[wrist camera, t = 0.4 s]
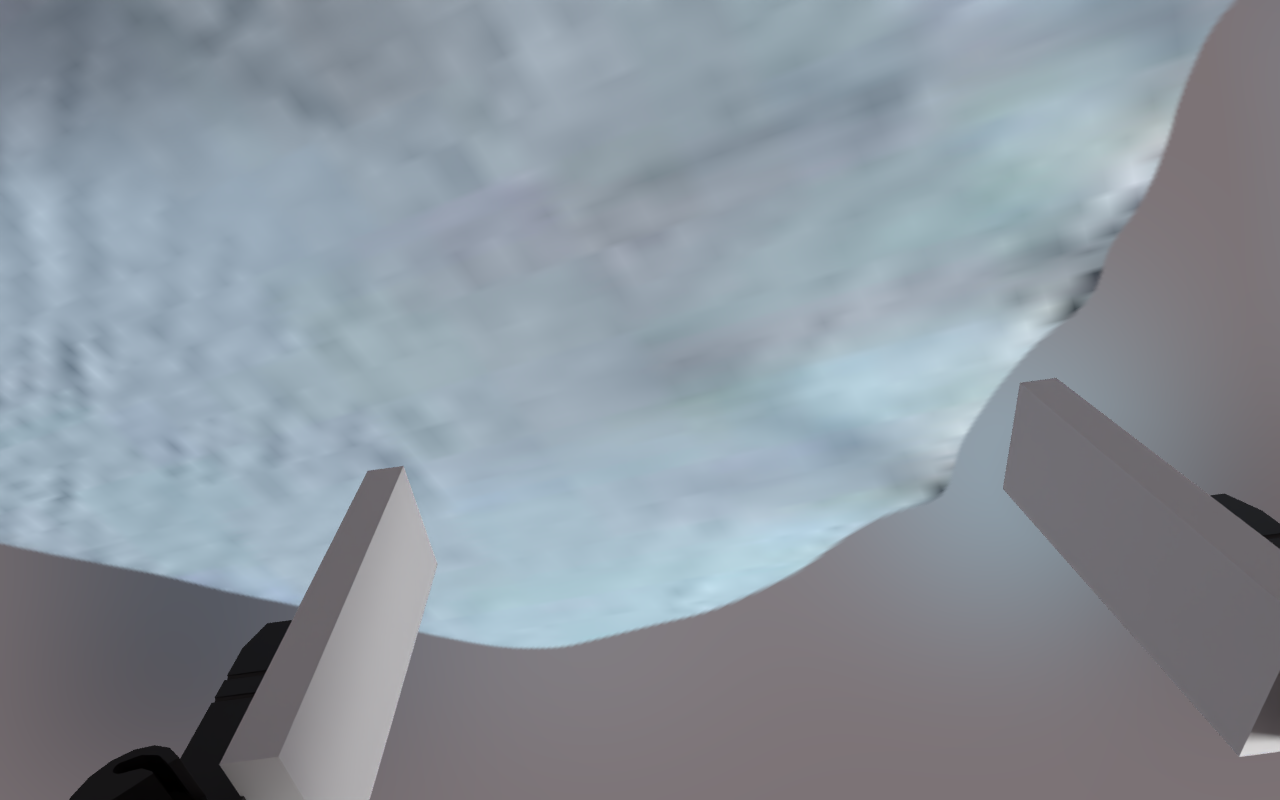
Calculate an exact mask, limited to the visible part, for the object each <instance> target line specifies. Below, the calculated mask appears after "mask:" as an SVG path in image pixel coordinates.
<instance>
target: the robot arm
mask: <svg viewBox="0 0 1280 800" xmlns="http://www.w3.org/2000/svg"><path fill="white" fill-rule="evenodd" d="M1003 489H1004V490H1005V492H1006V493H1007V494H1008V495H1009V496H1010V497H1011V498H1012V499H1013V501H1014V502H1015V503H1016V504H1017V505H1018V506H1019V508H1020V509H1021V510H1022V511H1023V512H1024V513H1025V514H1026V515H1027V516H1028V518H1029V519H1030V520H1031V521H1032V522H1033V523H1034V525H1035V526H1036V527H1037V528H1038V529H1039V530H1040V531H1041V532H1042V534H1043V535H1044V536H1045V537H1046V538H1047V539H1048V540H1049V542H1050V543H1051V544H1052V545H1053V546H1054V547H1055V548H1056V549H1057V551H1058V552H1059V553H1060V554H1061V555H1062V556H1063V557H1064V559H1066V561H1067V562H1068V563H1069V564H1070V565H1071V567H1072V568H1073V569H1074V570H1075V571H1076V572H1077V573H1078V574H1079V575H1080V577H1081V578H1082V579H1083V580H1084V581H1085V582H1086V584H1087V585H1088V586H1089V587H1090V588H1091V589H1092V590H1093V591H1094V593H1095V594H1096V595H1097V596H1098V597H1099V598H1100V599H1101V601H1102V602H1103V603H1104V604H1105V605H1106V606H1107V607H1108V609H1109V610H1110V611H1111V612H1112V613H1113V614H1114V615H1115V616H1116V617H1117V619H1118V620H1119V621H1120V622H1121V623H1122V624H1123V626H1124V627H1125V628H1126V629H1127V630H1128V631H1129V632H1130V633H1131V635H1132V636H1133V637H1134V638H1135V639H1136V640H1137V641H1138V643H1139V644H1140V645H1141V646H1142V647H1143V648H1144V649H1145V650H1146V652H1147V653H1148V654H1149V655H1150V656H1151V657H1152V658H1153V660H1154V661H1155V662H1156V663H1157V664H1158V665H1159V666H1160V667H1161V669H1162V670H1163V671H1164V672H1165V673H1166V674H1167V675H1168V677H1169V678H1170V679H1171V680H1172V681H1173V682H1174V683H1175V685H1176V686H1177V687H1178V688H1179V689H1180V690H1181V691H1182V692H1183V694H1184V695H1185V696H1186V697H1187V698H1188V699H1189V700H1190V702H1191V703H1192V704H1193V705H1194V706H1195V707H1196V708H1197V710H1198V711H1199V712H1200V713H1201V714H1202V715H1203V716H1204V717H1205V719H1206V720H1207V721H1208V722H1209V723H1210V724H1211V725H1212V726H1213V728H1214V729H1215V730H1216V731H1217V732H1218V733H1219V735H1220V736H1221V737H1222V738H1223V739H1224V740H1225V741H1226V742H1227V744H1228V745H1229V746H1230V747H1231V748H1232V749H1233V750H1234V751H1235V753H1236V754H1237V755H1238V756H1239V757H1241V756H1248V755H1256V754H1264V753H1272V752H1279V751H1280V524H1279V523H1278V522H1277V521H1275V520H1274V519H1273V518H1271V517H1270V516H1269V515H1267V514H1266V513H1264V512H1263V511H1261V510H1259V509H1257V508H1255V507H1253V506H1251V505H1248V504H1246V503H1244V502H1242V501H1240V500H1237V499H1235V498H1233V497H1231V496H1229V495H1226V494H1218V495H1211V496H1210V495H1208V494H1207V493H1206V492H1204V491H1203V490H1202V489H1201V488H1199V487H1198V486H1197V485H1195V484H1194V483H1193V482H1191V481H1190V480H1189V479H1187V478H1186V477H1185V476H1184V475H1182V474H1181V473H1180V472H1178V471H1177V470H1176V469H1174V468H1173V467H1172V466H1171V465H1169V464H1168V463H1166V462H1165V461H1164V460H1163V459H1161V458H1160V457H1159V456H1157V455H1156V454H1155V453H1153V452H1152V451H1151V450H1149V449H1148V448H1147V447H1146V446H1144V445H1143V444H1142V443H1140V442H1139V441H1138V440H1137V439H1135V438H1134V437H1132V436H1131V435H1130V434H1129V433H1127V432H1126V431H1125V430H1123V429H1122V428H1121V427H1119V426H1118V425H1117V424H1116V423H1114V422H1113V421H1112V420H1110V419H1109V418H1108V417H1107V416H1105V415H1104V414H1103V413H1101V412H1100V411H1098V410H1097V409H1096V408H1095V407H1093V406H1092V405H1091V404H1089V403H1088V402H1087V401H1086V400H1084V399H1083V398H1082V397H1080V396H1079V395H1078V394H1076V393H1075V392H1074V391H1073V390H1071V389H1070V388H1069V387H1067V386H1066V385H1065V384H1063V383H1062V382H1061V381H1059V380H1058V379H1057V378H1052V379H1045V380H1038V381H1031V382H1023V383H1020V386H1019V392H1018V398H1017V405H1016V411H1015V418H1014V423H1013V429H1012V435H1011V442H1010V448H1009V454H1008V460H1007V467H1006V473H1005V479H1004V485H1003ZM436 568H437V562H436V559H435V556H434V553H433V550H432V547H431V544H430V541H429V538H428V536H427V533H426V530H425V527H424V524H423V521H422V518H421V515H420V512H419V509H418V507H417V504H416V501H415V498H414V495H413V492H412V489H411V486H410V483H409V481H408V478H407V475H406V472H405V469H404V466H400V467H393V468H386V469H378V470H371V471H367V473H366V475H365V477H364V479H363V481H362V483H361V485H360V487H359V489H358V491H357V493H356V495H355V497H354V499H353V501H352V503H351V505H350V507H349V509H348V511H347V513H346V515H345V517H344V519H343V521H342V523H341V525H340V527H339V529H338V531H337V533H336V535H335V537H334V539H333V541H332V543H331V545H330V547H329V549H328V551H327V553H326V554H325V556H324V558H323V560H322V562H321V564H320V566H319V568H318V570H317V572H316V574H315V576H314V578H313V580H312V582H311V584H310V586H309V588H308V590H307V592H306V594H305V596H304V598H303V600H302V602H301V604H300V606H299V608H298V610H297V612H296V614H295V616H294V618H293V620H289V621H282V622H274V623H267V624H266V625H265V626H264V627H263V628H262V629H261V630H260V631H259V632H258V633H257V634H256V635H255V636H254V637H253V638H252V639H251V640H250V641H249V642H248V643H247V644H246V645H245V646H244V647H243V648H242V650H241V652H240V654H239V655H238V657H237V659H236V661H235V662H234V664H233V666H232V668H231V670H230V671H229V673H228V675H227V676H228V679H227V680H225V681H224V682H223V684H222V686H221V687H220V689H219V691H218V693H217V695H216V696H215V703H211V705H210V707H209V709H208V710H207V712H206V714H205V716H204V718H203V719H202V721H201V723H200V725H199V727H198V728H197V730H196V732H195V734H194V736H193V737H192V739H191V741H190V743H189V744H188V746H187V748H186V750H185V751H184V753H183V755H182V757H181V758H180V759H179V757H178V756H177V755H176V754H175V753H174V752H173V751H172V750H171V749H170V748H167V747H161V746H155V745H154V746H149V747H145V748H140V749H136V750H133V751H131V752H129V753H127V754H125V755H123V756H121V757H118V758H117V759H114V760H112V761H111V762H109V763H108V764H107V765H105V766H104V767H102V768H101V769H100V770H98V771H97V772H96V773H94V774H93V775H92V776H90V777H89V778H88V779H87V780H86V781H85V783H84V784H83V785H82V786H81V787H80V788H79V789H78V790H77V791H76V792H75V793H74V794H73V795H72V796H71V798H70V800H369V799H370V796H371V793H372V789H373V785H374V782H375V778H376V775H377V772H378V768H379V765H380V761H381V758H382V754H383V751H384V748H385V744H386V741H387V737H388V734H389V730H390V727H391V723H392V720H393V717H394V713H395V709H396V706H397V703H398V699H399V695H400V692H401V689H402V685H403V682H404V678H405V675H406V671H407V668H408V665H409V661H410V658H411V654H412V651H413V647H414V644H415V640H416V637H417V634H418V630H419V627H420V623H421V620H422V616H423V613H424V609H425V606H426V602H427V599H428V595H429V592H430V589H431V585H432V582H433V578H434V575H435V571H436Z"/></svg>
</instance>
